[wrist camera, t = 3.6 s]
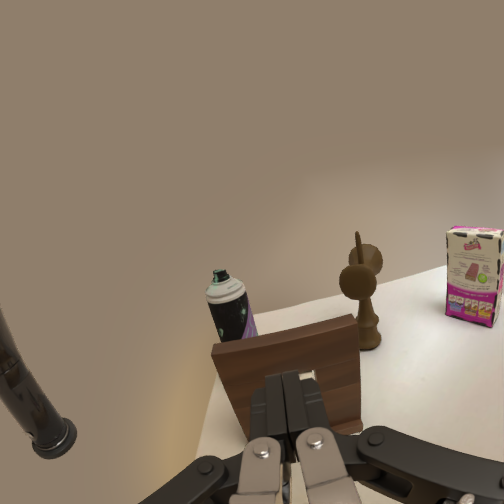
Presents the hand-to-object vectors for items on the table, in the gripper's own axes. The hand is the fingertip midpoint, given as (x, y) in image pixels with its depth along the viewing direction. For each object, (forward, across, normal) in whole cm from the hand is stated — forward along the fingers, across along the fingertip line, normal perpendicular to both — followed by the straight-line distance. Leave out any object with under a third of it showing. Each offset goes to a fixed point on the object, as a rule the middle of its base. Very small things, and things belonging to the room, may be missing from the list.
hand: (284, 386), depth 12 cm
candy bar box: (+25, -35, +22) cm, 48 cm away
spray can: (+26, +7, +21) cm, 34 cm away
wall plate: (+15, 0, +21) cm, 26 cm away
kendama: (+29, -13, +22) cm, 39 cm away
